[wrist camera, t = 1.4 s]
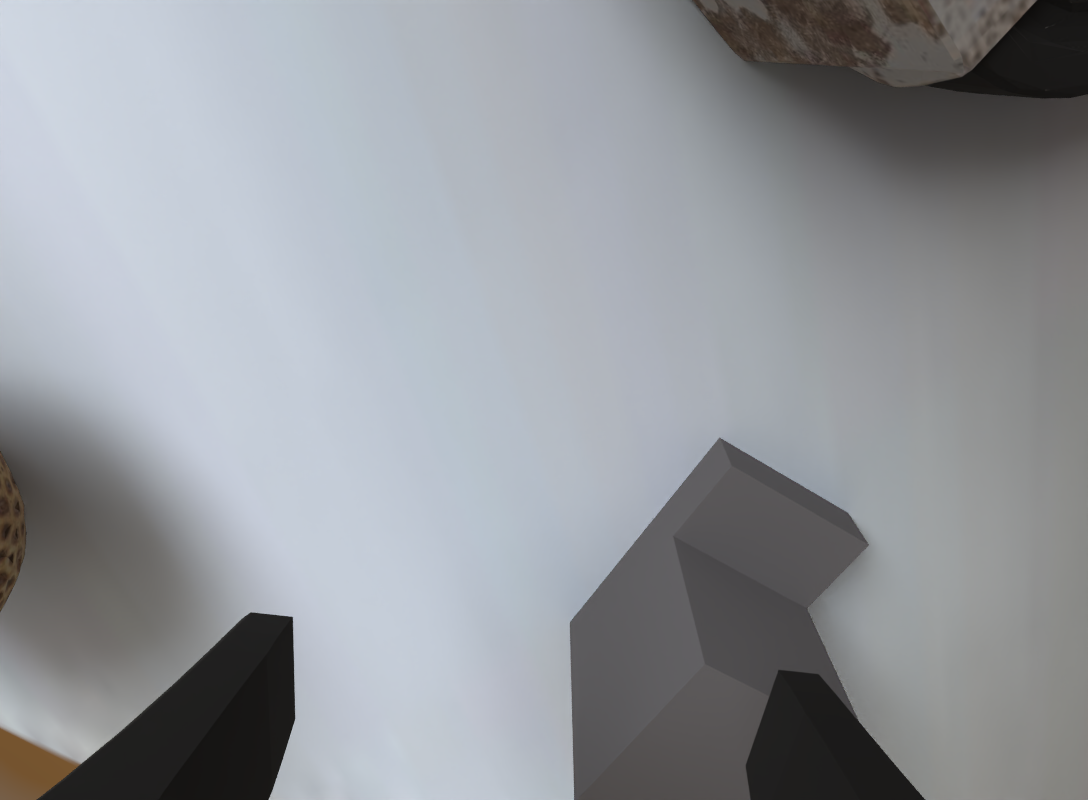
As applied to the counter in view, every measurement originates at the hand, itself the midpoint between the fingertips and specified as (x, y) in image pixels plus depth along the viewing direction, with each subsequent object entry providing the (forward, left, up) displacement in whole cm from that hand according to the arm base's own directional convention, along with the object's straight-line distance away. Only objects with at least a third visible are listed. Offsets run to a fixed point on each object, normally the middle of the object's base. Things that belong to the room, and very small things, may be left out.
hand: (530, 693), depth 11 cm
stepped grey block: (-7, +2, -9) cm, 12 cm away
